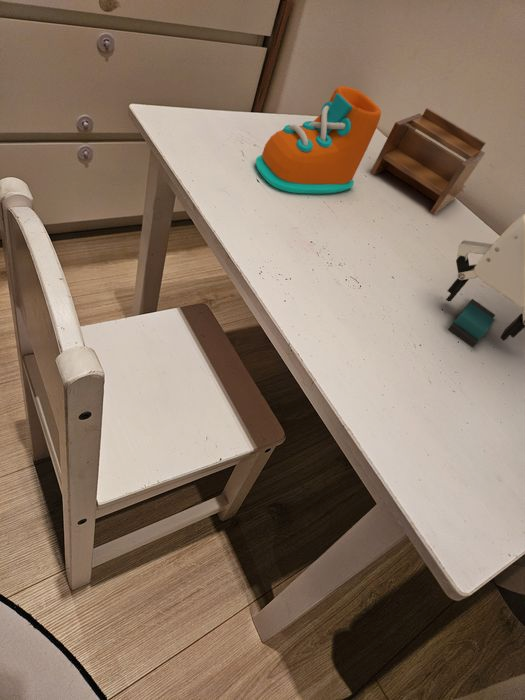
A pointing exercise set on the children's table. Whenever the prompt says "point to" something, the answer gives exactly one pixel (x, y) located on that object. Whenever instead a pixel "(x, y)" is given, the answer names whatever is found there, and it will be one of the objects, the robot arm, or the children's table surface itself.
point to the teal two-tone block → (472, 323)
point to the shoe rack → (430, 156)
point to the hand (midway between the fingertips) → (476, 316)
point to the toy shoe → (322, 146)
